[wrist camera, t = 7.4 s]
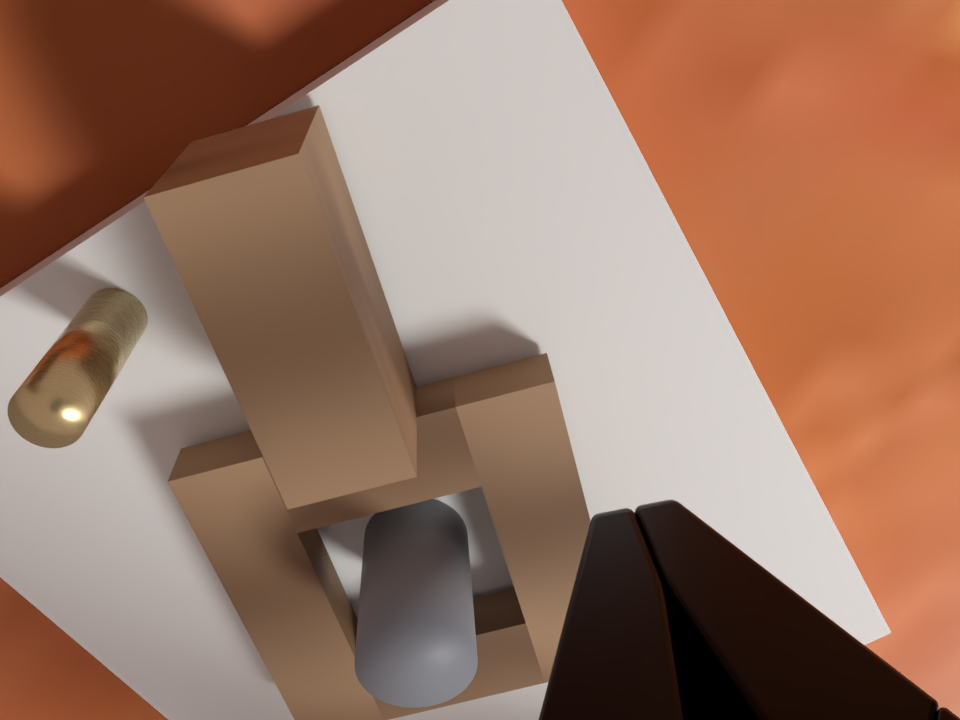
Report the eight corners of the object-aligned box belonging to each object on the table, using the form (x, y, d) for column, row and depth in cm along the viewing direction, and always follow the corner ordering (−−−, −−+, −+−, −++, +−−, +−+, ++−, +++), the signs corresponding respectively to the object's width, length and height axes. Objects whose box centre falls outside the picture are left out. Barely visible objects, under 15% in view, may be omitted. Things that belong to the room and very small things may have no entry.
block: (617, 626, 22) (646, 734, 19) (310, 699, 23) (295, 814, 20) (471, 61, 16) (484, 101, 13) (45, 183, 16) (-34, 246, 13)
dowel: (160, 323, 18) (102, 426, 15) (113, 352, 18) (45, 459, 15) (118, 276, 17) (48, 371, 14) (71, 307, 18) (-10, 407, 14)
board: (870, 600, 24) (971, 758, 20) (352, 836, 28) (340, 1017, 23) (525, -60, 16) (566, -37, 12) (-154, 390, 19) (-320, 538, 15)
